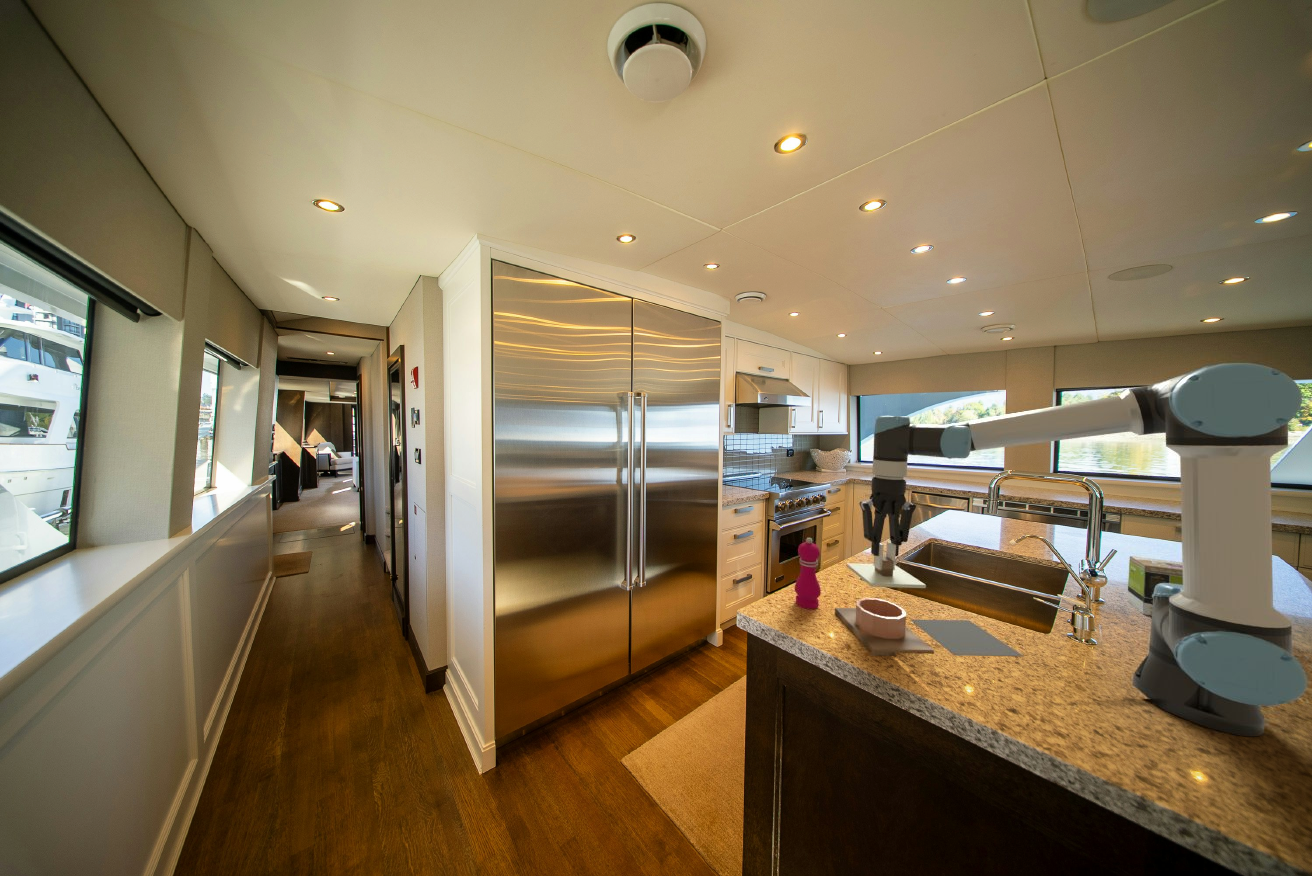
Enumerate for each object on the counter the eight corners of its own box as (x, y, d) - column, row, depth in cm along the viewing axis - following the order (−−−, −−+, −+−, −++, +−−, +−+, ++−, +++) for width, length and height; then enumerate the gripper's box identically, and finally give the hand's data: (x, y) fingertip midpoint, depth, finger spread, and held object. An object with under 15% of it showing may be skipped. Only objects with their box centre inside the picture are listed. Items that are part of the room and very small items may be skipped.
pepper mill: (822, 611, 113) (825, 542, 112) (795, 608, 114) (798, 540, 113) (817, 599, 120) (819, 535, 119) (792, 597, 121) (794, 533, 120)
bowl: (914, 638, 96) (915, 619, 96) (869, 638, 96) (870, 618, 96) (888, 616, 107) (889, 598, 107) (848, 615, 107) (848, 597, 107)
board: (933, 656, 92) (933, 649, 92) (873, 655, 92) (873, 648, 92) (884, 613, 112) (884, 608, 112) (834, 612, 112) (835, 607, 112)
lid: (925, 588, 95) (926, 568, 95) (871, 586, 95) (872, 567, 95) (894, 567, 108) (895, 550, 108) (846, 566, 108) (846, 548, 108)
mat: (1023, 660, 91) (1023, 655, 91) (954, 659, 91) (954, 654, 91) (968, 623, 107) (969, 620, 107) (909, 622, 107) (909, 619, 107)
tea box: (1202, 615, 114) (1207, 564, 113) (1226, 630, 106) (1231, 576, 105) (1125, 601, 122) (1129, 554, 121) (1141, 614, 114) (1145, 564, 113)
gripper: (910, 475, 104) (905, 563, 105) (851, 474, 104) (846, 561, 105) (929, 480, 96) (924, 574, 97) (865, 478, 96) (861, 573, 98)
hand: (883, 567), depth 101 cm, fingers closed on lid, 2 cm apart
